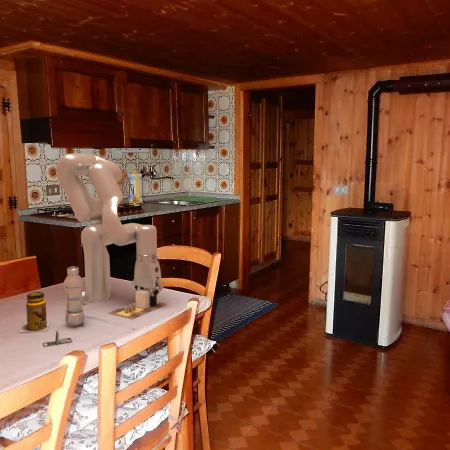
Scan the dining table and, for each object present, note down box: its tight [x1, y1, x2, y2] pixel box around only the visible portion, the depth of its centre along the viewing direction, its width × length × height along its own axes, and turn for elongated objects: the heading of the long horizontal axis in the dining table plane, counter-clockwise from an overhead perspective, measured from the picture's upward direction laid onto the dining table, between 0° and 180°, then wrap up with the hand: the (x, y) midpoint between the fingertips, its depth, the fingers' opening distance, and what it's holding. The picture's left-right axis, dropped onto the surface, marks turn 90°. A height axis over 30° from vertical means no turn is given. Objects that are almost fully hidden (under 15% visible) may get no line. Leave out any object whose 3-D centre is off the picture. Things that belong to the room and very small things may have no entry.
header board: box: [107, 301, 168, 321], centre depth 164 cm, size 20×12×4 cm, turn 149°
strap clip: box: [42, 329, 73, 348], centre depth 135 cm, size 8×3×4 cm, turn 117°
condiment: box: [18, 291, 50, 333], centre depth 147 cm, size 7×8×12 cm
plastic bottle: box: [63, 266, 86, 327], centre depth 150 cm, size 6×7×20 cm
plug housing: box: [135, 287, 160, 309], centre depth 168 cm, size 8×4×6 cm, turn 149°
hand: (147, 303), depth 168 cm, fingers open, 5 cm apart
